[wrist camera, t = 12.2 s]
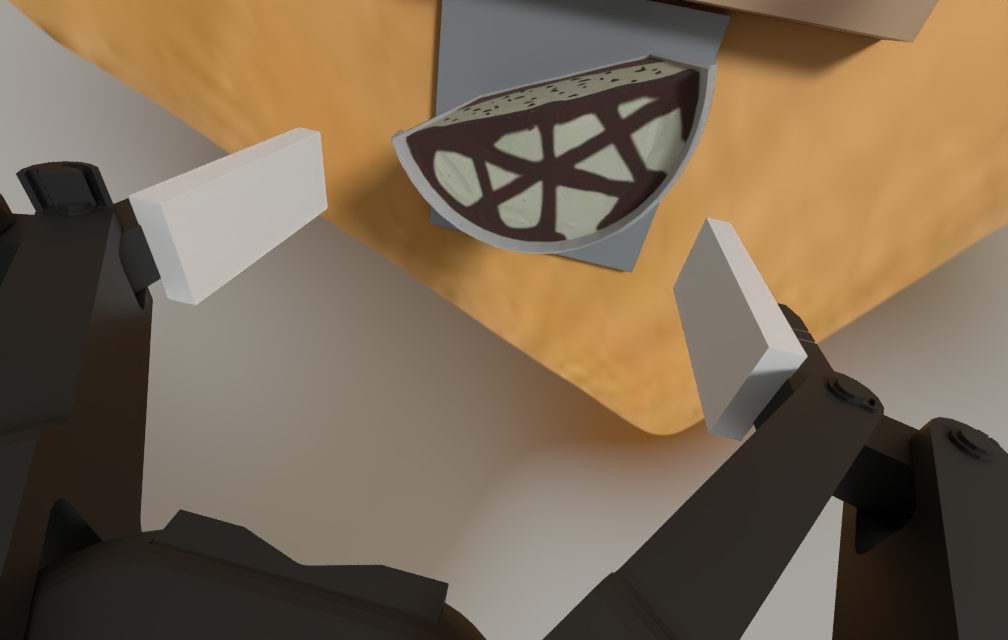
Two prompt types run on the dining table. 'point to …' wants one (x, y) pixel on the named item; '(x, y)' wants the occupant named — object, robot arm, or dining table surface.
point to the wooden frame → (842, 14)
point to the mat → (564, 62)
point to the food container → (562, 153)
